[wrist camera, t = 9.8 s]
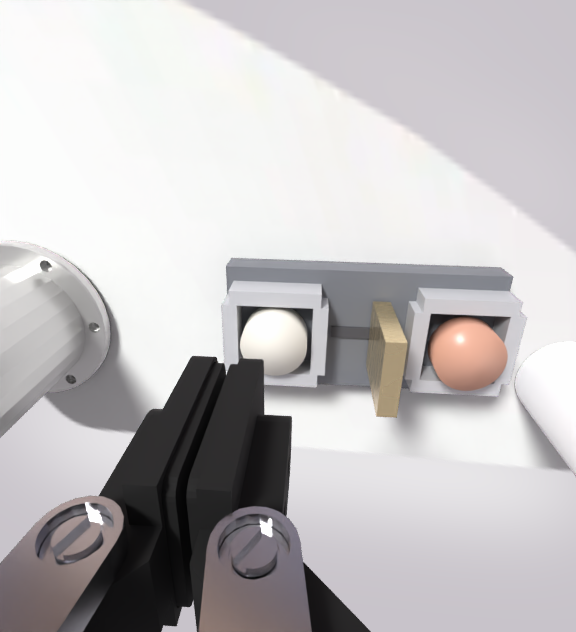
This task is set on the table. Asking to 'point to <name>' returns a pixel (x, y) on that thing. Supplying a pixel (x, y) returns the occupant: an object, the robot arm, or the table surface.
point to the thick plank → (385, 359)
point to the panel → (369, 314)
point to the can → (552, 395)
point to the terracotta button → (467, 353)
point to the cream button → (275, 339)
